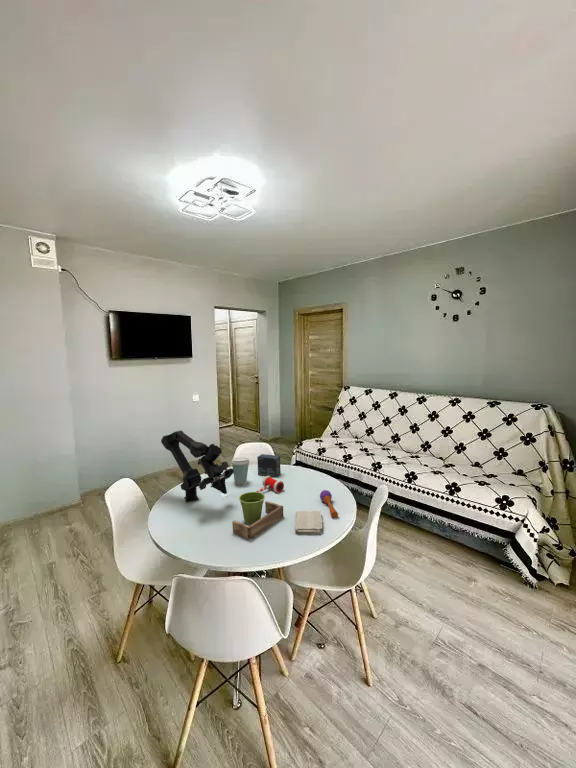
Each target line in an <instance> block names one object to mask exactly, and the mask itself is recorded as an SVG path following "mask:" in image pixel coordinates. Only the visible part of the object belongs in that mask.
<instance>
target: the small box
mask: <svg viewBox="0 0 576 768" xmlns="http://www.w3.org/2000/svg"><path fill="white" fill-rule="evenodd" d="M256 460H257V476H258V475H259V476H260V477H266V476H270V477H272V478H276V477H277V478H278V477H279V476H281V455H275V454H274V455H273V454H264V453H261V454H260V455H258V456H257V459H256Z"/></svg>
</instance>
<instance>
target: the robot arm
mask: <svg viewBox="0 0 576 768" xmlns="http://www.w3.org/2000/svg"><path fill="white" fill-rule="evenodd" d="M160 440H161V441H160V443H161V444H162V446H163V447H164V448H165V449H166V450H167V451H169V452H170V453H171V455H172V456H173V458H174V460H175V461H176V464H177V465H178V467H179V469H180V470H181V472H182V481H183V482H182V483H181V485H180V488H181V490H182V491H184V492H185V493H184V495H185V496H184V497H183V499H184V501H185V503H189V502H190V503H191V502H194V501H199V499H200V498H199V497H198V493H197V492H198V491H197V489H198V488H199V490H200V491H202V490H205V489H206V488H207V485H209V484H210V488H213V489H215V490H217V491H219V492H221V493H222V494H224V495H226V494H227V493H228V490H227V487H226V480H227V479H229V478H231V477H232V475H234V474H233V473H234V470H233V467H231V468H229V463H228V462H227V460H226V461H222V462H221V464H218V463H215V461H216V460H217V459H219V457H220V456H221V454H222V452H223V451H222V448H221V447H220V446H218V445H215V444H214V443H210V444H209V446H208V445H207V444H205V443H203V442H200V441H196V440H194V439H193V438H192V437H190V436H188V435H187V434H186V433H185V432H184V431H183V430H177V431H173V432H172V433H170V434H166V435H163V436H162V438H161V439H160ZM180 444H181V445H183V446H184V447H185V448H187V449H188V450H189V452H190V454H191V456H193V457H194V458H196V459H197V458H198V462H197V465H201V466H202V468H203V470H204V475H207V476H208V477H205V478H203V479H202V476H201V473H200V472H199V470H198V468H193V467H192V466H191V464H190V462H189V461H188V459H187V458H186V455H185V454H184V452H183V451H182V448H181V447H180ZM200 457H201V458H200Z"/></svg>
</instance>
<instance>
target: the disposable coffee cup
mask: <svg viewBox="0 0 576 768" xmlns="http://www.w3.org/2000/svg"><path fill="white" fill-rule="evenodd" d="M249 465H250V459H249V458H248V457H245V456H244V457H243V456H241V457H234V458H232V460H231V468H232V469H233V470H234V473H233V474H232V475H233V479H234V483H235V485H236V486H244V485H245V484H246V483H247V480H248V474H249V473H248V472H249Z"/></svg>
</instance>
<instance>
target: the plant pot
mask: <svg viewBox="0 0 576 768" xmlns="http://www.w3.org/2000/svg"><path fill="white" fill-rule="evenodd" d="M265 499H266V495H265V494H264V493H262V492H256V491H249V492H244V493H241V494H240V495H239V497H238V501H239V502H240V505H241V511H242V515H243V519H244V524H245V523H246V525H248V526H250V525H252V524H253V523H255V522H256V521H258V520H259V519H261V518H262V513H263V512H262V511H263V506H264V505H263V504H264V503H265V501H264V500H265Z"/></svg>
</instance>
